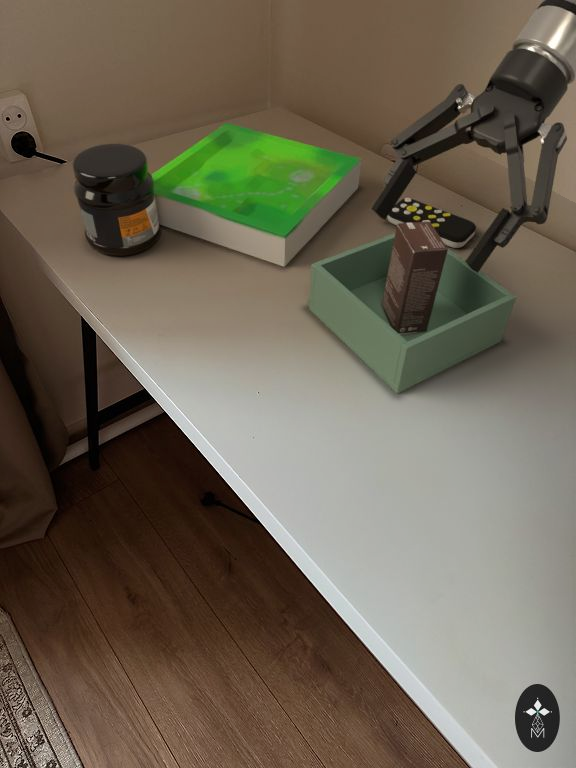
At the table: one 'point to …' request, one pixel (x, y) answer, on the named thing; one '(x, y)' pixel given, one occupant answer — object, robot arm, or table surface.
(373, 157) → the table surface
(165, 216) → the green flat square slab
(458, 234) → the remote control
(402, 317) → the box
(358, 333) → the bin
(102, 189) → the supplement container
